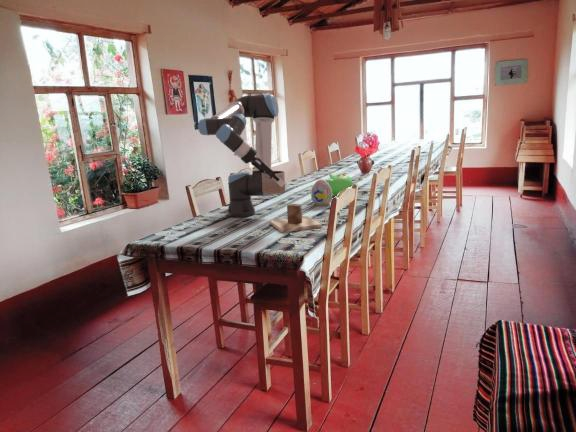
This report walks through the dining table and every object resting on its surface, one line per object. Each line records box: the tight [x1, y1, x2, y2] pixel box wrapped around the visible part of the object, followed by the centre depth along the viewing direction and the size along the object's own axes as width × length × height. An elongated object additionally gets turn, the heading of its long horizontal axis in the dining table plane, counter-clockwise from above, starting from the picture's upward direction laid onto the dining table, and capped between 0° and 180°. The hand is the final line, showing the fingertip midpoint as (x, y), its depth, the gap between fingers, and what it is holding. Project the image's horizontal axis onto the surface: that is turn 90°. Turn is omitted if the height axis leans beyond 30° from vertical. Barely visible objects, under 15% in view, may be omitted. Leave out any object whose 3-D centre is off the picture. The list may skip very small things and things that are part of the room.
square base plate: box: [269, 203, 323, 233], centre depth 223 cm, size 20×20×10 cm
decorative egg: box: [310, 178, 333, 207], centre depth 268 cm, size 12×12×15 cm
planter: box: [262, 170, 286, 195], centre depth 216 cm, size 11×11×10 cm
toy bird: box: [324, 173, 355, 197], centre depth 290 cm, size 18×17×15 cm
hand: (279, 183), depth 217 cm, fingers closed on planter, 11 cm apart
